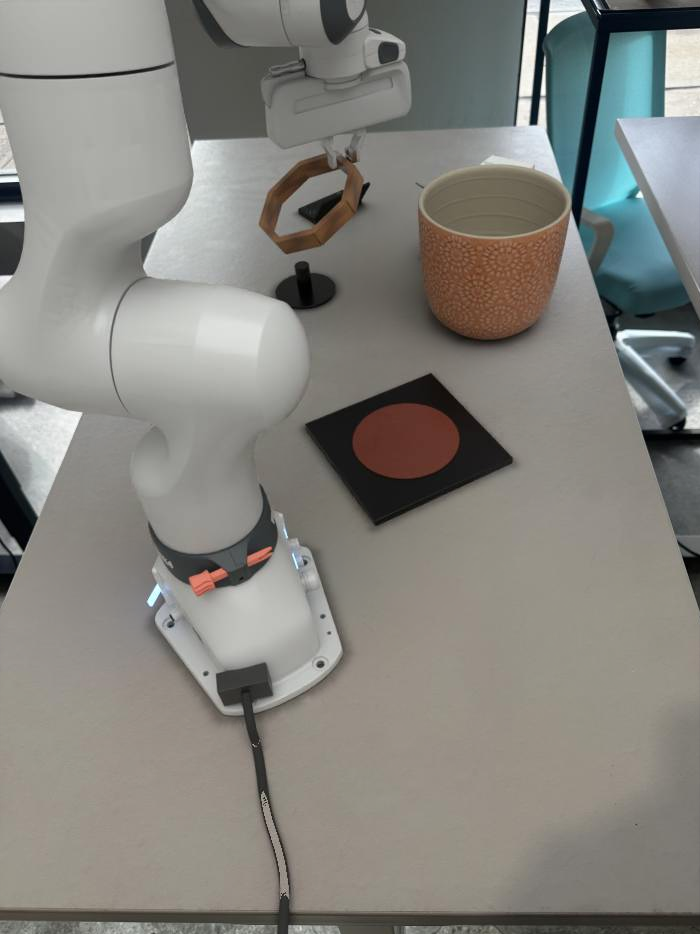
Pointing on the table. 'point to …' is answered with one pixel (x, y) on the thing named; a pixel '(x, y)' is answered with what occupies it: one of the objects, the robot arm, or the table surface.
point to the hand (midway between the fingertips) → (344, 164)
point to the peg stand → (305, 288)
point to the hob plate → (406, 447)
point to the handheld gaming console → (326, 205)
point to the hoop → (328, 222)
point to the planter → (492, 247)
